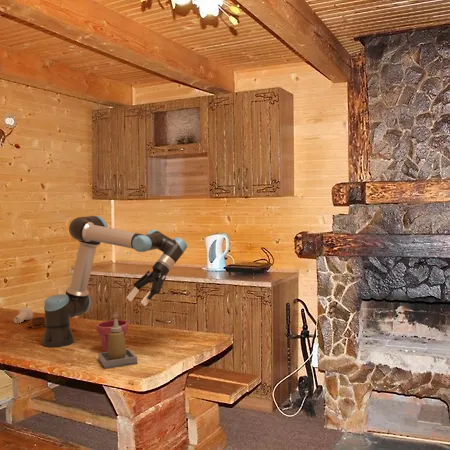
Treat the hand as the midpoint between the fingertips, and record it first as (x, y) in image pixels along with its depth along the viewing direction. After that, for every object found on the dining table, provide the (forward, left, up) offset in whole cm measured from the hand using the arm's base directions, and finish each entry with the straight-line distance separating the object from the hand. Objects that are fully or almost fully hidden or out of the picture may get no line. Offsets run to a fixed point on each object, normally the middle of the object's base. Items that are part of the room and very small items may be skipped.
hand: (135, 302), depth 240 cm
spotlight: (-98, -44, -25) cm, 110 cm away
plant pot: (-13, -8, -24) cm, 29 cm away
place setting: (-79, -34, -25) cm, 90 cm away
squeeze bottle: (+6, -10, -24) cm, 26 cm away
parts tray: (+6, -10, -24) cm, 27 cm away
